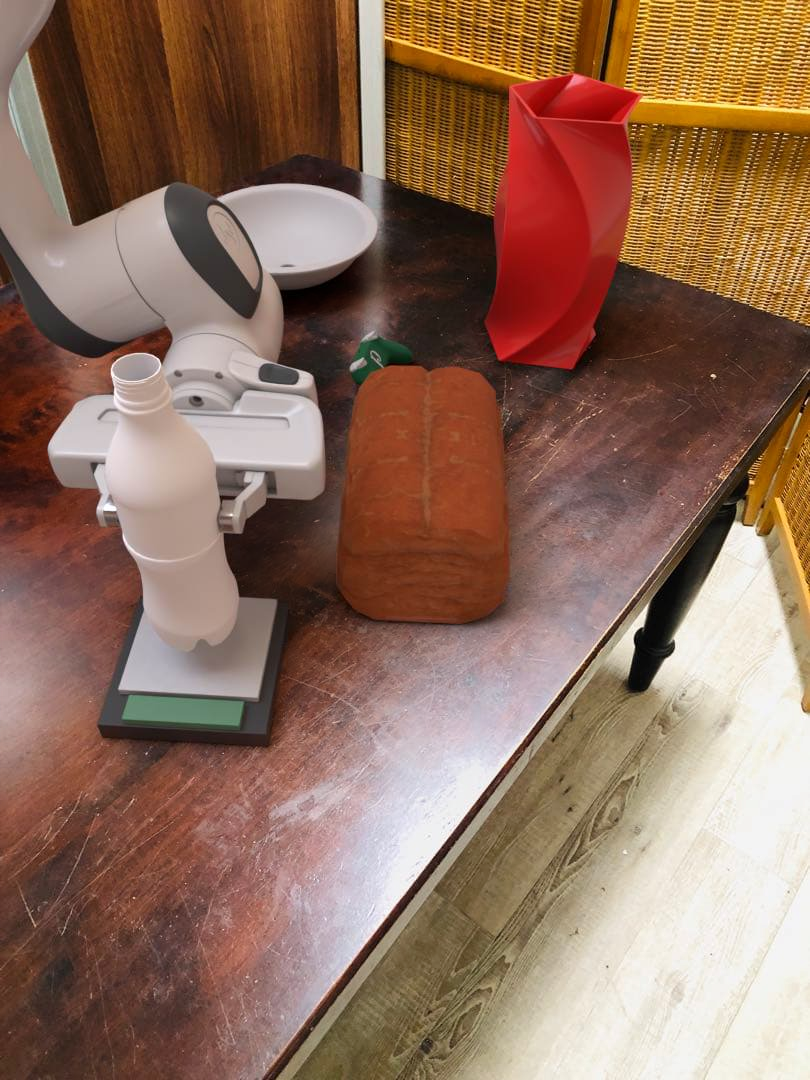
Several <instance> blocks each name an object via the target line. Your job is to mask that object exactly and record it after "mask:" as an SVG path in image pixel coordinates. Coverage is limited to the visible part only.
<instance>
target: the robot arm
mask: <svg viewBox="0 0 810 1080" xmlns="http://www.w3.org/2000/svg"><path fill="white" fill-rule="evenodd" d="M55 3H56V0H0V253H1V256H2V257H3V259H4V261H5V263H6V266H7V268H8V269H9V272H10V275H11V277H12V279H13V282H14V284H15V288H16V290H17V293H18V295H19V298H20V301H21V303H22V306H23V307H24V309H25V312H26V314H27V316H28V318H29V319H30V321H31V322H32V324H33V325H34V327H35V328H36V330H37V331H38V332H39V333H40V334H41V335H42V336H43V337H44V338H45V339H47V340H48V341H50V342H51V343H53V345H56V346H57V347H59V348H61V349H63V350H65V351H67V352H70V353H72V354H74V355H77V356H80V357H82V358H87V359H100V358H102V357H105V356H107V355H109V354H110V353H112V352H114V351H116V350H118V349H120V348H123V347H124V346H127V345H128V344H130V343H131V342H134V341H135V340H136V339H138V338H140V337H144V336H145V335H146V336H147V334H150V333H153V332H155V331H159V330H161V329H163V328H167V329H168V330H169V332H170V333H171V334H170V335H171V336H172V337H171V338H172V341H171V345H170V347H169V349H168V350H167V351H166V354H165V356H164V359H163V362H162V363H161V365H162V367H163V371H164V378H165V379H166V381H167V382H168V384H169V386H170V388H171V389H172V392H173V399H172V405H173V407H174V408H175V410H176V411H177V412H178V413H179V414H180V415H181V416H182V417H183V418H184V419H185V420H186V421H187V422H189V423H190V424H191V425H192V426H193V427H194V429H195V430H196V431H197V432H198V433H199V434H200V435H201V436H202V437H203V439H204V440H205V441H206V443H207V444H208V446H209V448H210V450H211V452H212V454H213V457H214V461H215V464H216V474H215V475H216V481H217V486H218V492H219V496H223V497H225V496H226V497H235V498H234V499H222V501H221V510H220V512H219V517H218V521H219V525H220V532H221V533H223V534H237V535H238V534H239V535H242V534H243V532H244V529H245V524H246V520H247V519H249V518H251V517H252V516H253V515H254V514H255V513H257V511H259V510H260V509H261V508H263V507H264V506H266V502H267V499H283V500H299V501H300V500H302V501H311V500H314V499H315V498H317V497H319V496H320V495H321V494H322V493H323V492H324V491H325V487H326V477H327V476H326V475H327V474H326V446H325V433H324V422H323V415H322V412H321V410H320V407H319V399H318V391H317V387H316V386H317V385H316V382H315V378H314V375H313V374H311V373H310V372H308V371H305V370H301V369H297V368H293V367H289V366H286V365H284V364H279V363H278V361H279V357H280V354H281V350H282V349H281V348H282V342H283V335H284V327H285V326H284V325H285V324H284V323H285V321H284V320H285V319H284V316H285V315H284V305H283V298H282V295H281V290H279V288H278V286H277V284H276V283H275V281H274V279H273V278H272V276H271V275H270V274H269V273H268V272H267V271H266V270H265V269H264V268H263V267H262V266H261V263H260V260H259V257H258V255H257V252H256V250H255V248H254V245H253V243H252V241H251V239H250V237H249V235H248V234H247V232H246V230H245V229H244V227H243V226H242V224H241V223H240V221H239V220H238V218H237V217H236V216H235V214H234V213H233V212H232V211H231V210H230V209H229V208H228V207H227V206H226V205H224V204H223V203H221V202H220V201H219V200H217V198H216V197H214V196H213V195H211V194H210V193H208V192H207V191H205V190H203V189H201V188H199V187H196V186H194V185H192V184H188V183H184V182H180V181H175V182H172V183H170V184H169V185H166V186H164V187H160V188H159V189H156V190H154V191H150V192H149V193H146V194H144V195H142V196H140V197H138V198H135V199H133V200H130V201H128V202H126V203H124V204H122V205H121V206H120V207H118V208H116V209H113V210H111V211H108V212H107V213H104V214H101V215H100V216H98V217H95V218H93V219H91V220H88V221H86V222H84V223H82V224H79V225H72V224H70V223H68V222H66V221H65V220H64V219H62V218H61V217H60V216H59V214H58V213H57V210H56V208H55V206H54V204H53V202H52V201H51V199H50V197H49V194H48V193H47V191H46V189H45V187H44V185H43V182H42V181H41V179H40V177H39V175H38V173H37V171H36V170H35V167H34V165H33V163H32V160H31V159H30V157H29V156H28V154H27V151H26V149H25V148H24V147H25V146H23V144H22V142H21V139H20V138H19V136H18V134H17V132H16V130H15V127H14V125H13V121H12V117H11V113H10V107H9V95H10V88H11V84H12V81H13V77H14V75H15V73H16V70H17V68H19V67H18V66H19V65H20V64H21V62H22V60H23V59H24V57H25V55H27V54H26V53H27V52H28V51H29V49H30V48H31V46H32V45H33V43H34V41H35V40H36V39H37V38H38V35H39V34H40V32H41V31H42V29H43V28H44V26H45V24H47V21H48V19H49V18H50V15H51V13H52V10H53V8H54V6H55ZM119 418H120V412H119V411H118V410H117V409H116V407H115V405H114V393H109V392H108V393H107V392H104V393H97V394H96V395H91V396H88V397H86V398H84V399H81V400H78V401H77V402H76V403H75V404H74V405H73V407H72V409H71V411H70V412H68V414H67V415H66V417H65V418H64V420H63V421H62V422H61V423H60V425H59V426H58V428H57V429H56V431H55V432H54V433H53V436H52V437H51V439H50V441H49V443H48V445H47V456H48V458H49V462H50V465H51V467H52V468H51V469H52V471H53V472H54V475H55V476H56V478H57V480H58V481H59V483H60V484H61V485H62V486H63V487H65V488H69V489H87V490H88V489H89V490H98V493H99V497H100V499H99V501H98V504H97V506H96V513H95V514H96V518H97V521H98V524H99V526H100V527H102V528H103V527H105V528H121V525H120V521H119V518H118V515H117V511H116V508H115V505H114V501H113V498H112V496H111V494H110V492H109V491H108V488H107V485H106V478H105V463H106V457H107V453H108V450H109V447H110V444H111V441H112V438H113V436H114V433H115V431H116V429H117V426H118V423H119Z"/></svg>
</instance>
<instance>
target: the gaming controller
mask: <svg viewBox="0 0 810 1080" xmlns="http://www.w3.org/2000/svg"><path fill="white" fill-rule="evenodd" d="M376 332H377V331H376V330H373V331H371V332H368V334H366V335H364V337H363V338H362V339H361V342H360V343H359V346H358V348H357V350H356V352H355V355H354V357H353V360H352V362H351V364H350V367H349V376H350V377H351V378H352V380H353V382H354V384H355V385H356V386H359V387H360V386H361V385H362V384H363V382H364V381H365V380H366V378H367V377H368V376H369V374H370V373H371V372H373V371H376V370H379V369H382V368H385V367H388V364H394V365H400V366H406V365H409V364H411V363H412V361H413V358H414V355H413V353H412V351H411V350H410V348H408V347H407V346H405V345H404V344H401V343H399V342H396V341H393V340H389V339H387V338H383V337H382V336H380V335H378V333H376Z"/></svg>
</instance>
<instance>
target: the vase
mask: <svg viewBox="0 0 810 1080" xmlns="http://www.w3.org/2000/svg"><path fill="white" fill-rule="evenodd" d="M508 91H509V92H508V153H507V163H506V165H505V167H504V170H503V173H502V175H501V178H500V181H499V184H498V187H497V191H496V195H495V201H494V209H493V231H494V240H495V241H494V243H495V251H496V252H495V253H496V281H495V282H496V283H495V290H494V295H493V298H492V301H491V306H490V308H489V311H488V313H487V315H486V318H484V321H483V323H484V326H485V328H486V330H487V333H488V335H489V338H490V340H491V341H490V342H491V343H492V347H493V348H494V351H495V354H496V357H497V359H498V361H500V362H504V363H505V362H506V363H514V364H523V365H531V366H532V365H533V366H541V367H548V368H555V369H556V368H557V369H566V370H573V369H574V368H575V367H576V365H577V364H578V362H579V360H580V358H581V357H582V355H583V354H584V352H585V351H586V350H587V348H588V347H589V345H590V343H592V341H593V340H594V338H595V336H596V335H597V333H596V331H595V328H594V325H595V323H596V321H597V319H598V316H599V314H600V311H601V309H602V306H603V304H604V301H605V299H606V296H607V294H608V292H609V288H610V285H611V283H612V280H613V277H614V274H615V271H616V268H617V266H618V262H619V259H620V257H621V256H620V255H621V252H622V249H623V245H624V240H625V237H626V232H627V228H628V224H629V218H630V211H631V206H632V196H633V182H634V181H633V179H634V178H633V177H634V175H633V174H634V173H633V170H634V169H633V157H632V149H631V143H630V138H629V132H628V131H629V129H628V125H629V121H630V117H631V114H632V113H633V111H634V109H635V108H636V107H637V105H638V103H640V101H641V100H642V99H643V97H644V95H643V94H642V93H640V92H636V91H634V90H630V89H628V88H623V87H620V86H617V85H614V84H611V83H607V82H604V81H601V80H598V79H595V78H592V77H589V76H585V75H582V74H579V73H577V72H576V73H575V72H573V73H567V74H563V75H558V76H552V77H548V78H547V77H546V78H542V79H536V80H532V81H526V82H520V83H515V84H511V85H508Z"/></svg>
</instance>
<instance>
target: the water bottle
mask: <svg viewBox="0 0 810 1080" xmlns="http://www.w3.org/2000/svg"><path fill="white" fill-rule="evenodd" d="M110 376H111V380H112V384H113V387H114V388H113V394H114V405H115V407H116V409H117V410H118V411H119V412H120V418H119V423H118V426H117V429H116V431H115V433H114V436H113V438H112V441H111V444H110V447H109V450H108V453H107V457H106V463H105V478H106V485H107V488H108V491H109V492H110V494H111V496H112V498H113V501H114V505H115V508H116V511H117V515H118V518H119V521H120V525H121V527H120V529H121V531H122V541H123V544H124V546H125V547H126V549H127V551H128V553H129V555H130V556H132V558H133V560H134V562H136V563H135V564H137V568H138V570H139V571H138V572H139V573H140V577H141V585H142V595H143V606H144V610H145V613H146V616H147V619H148V621H149V623H150V624H151V626H152V627H153V629H154V630H155V632H156V633H157V634H158V636H159V637H160V638H161V639H162V640H163V641H164V642H165V643H166V644H168V645H169V646H171V647H173V648H175V649H177V650H180V651H184V652H189V651H191V650H192V649H194V648H195V646H196V644H197V641H198V640H200V639H204V640H206V641H207V642H208V643H209V644H210V645H211V646H214V645H217V644H220V643H221V642H222V641H224V640H225V639H226V638H227V636H228V635H229V634H230V632H231V631H232V629H233V627H234V624H235V621H236V617H237V612H238V605H239V597H240V593H239V588H238V582H237V580H236V576H235V575H234V573H233V572H232V569H231V568H230V567H231V566H230V565H229V563H228V559H227V555H226V549H225V539H224V533H221V532H220V525H219V521H218V517H219V512H220V510H221V504H222V501H221V498H220V497H221V496H220V495H219V492H218V486H217V481H216V475H215V474H216V464H215V461H214V457H213V454H212V452H211V450H210V448H209V446H208V444H207V443H206V441H205V440H204V439H203V437H202V436H201V435H200V434H199V433H198V432H197V431H196V430H195V429H194V427H193V426H192V425H191V424H190V423H189V422H187V421H186V420H185V419H184V418H183V417H182V416H181V415H180V414H179V413H178V412H177V411H176V410H175V408H174V407H173V405H172V399H173V392H172V389H171V388H170V386H169V384H168V382H167V381H166V379H165V378H164V371H163V367H162V362H161V361H160V358H158V357H157V356H155V355H154V354H150V353H147V352H135V353H130V354H125V355H123V356H121V357H119V358H117V359H116V361H114V362H113V363H112V365H111V368H110Z"/></svg>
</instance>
